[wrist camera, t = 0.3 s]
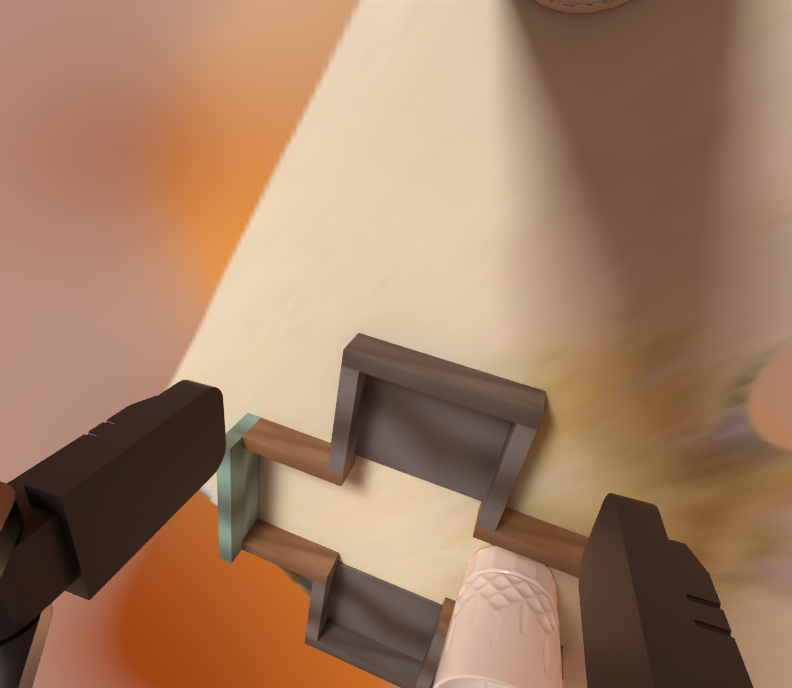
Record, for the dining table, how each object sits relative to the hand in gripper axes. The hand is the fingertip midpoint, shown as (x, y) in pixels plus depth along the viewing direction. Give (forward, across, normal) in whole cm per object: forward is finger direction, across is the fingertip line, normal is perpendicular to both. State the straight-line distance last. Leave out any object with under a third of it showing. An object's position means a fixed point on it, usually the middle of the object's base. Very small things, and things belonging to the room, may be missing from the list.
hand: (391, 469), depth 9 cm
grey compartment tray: (+20, +3, +24) cm, 31 cm away
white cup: (+20, -6, +24) cm, 32 cm away
